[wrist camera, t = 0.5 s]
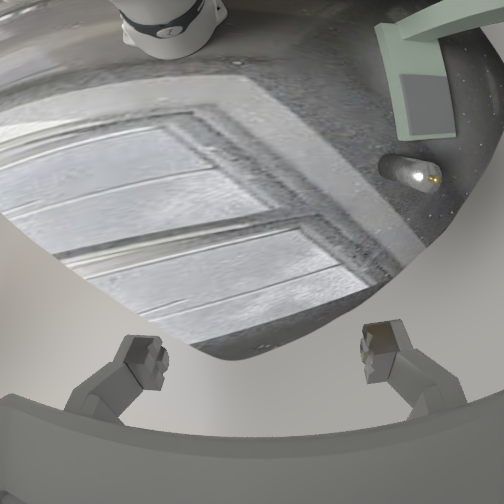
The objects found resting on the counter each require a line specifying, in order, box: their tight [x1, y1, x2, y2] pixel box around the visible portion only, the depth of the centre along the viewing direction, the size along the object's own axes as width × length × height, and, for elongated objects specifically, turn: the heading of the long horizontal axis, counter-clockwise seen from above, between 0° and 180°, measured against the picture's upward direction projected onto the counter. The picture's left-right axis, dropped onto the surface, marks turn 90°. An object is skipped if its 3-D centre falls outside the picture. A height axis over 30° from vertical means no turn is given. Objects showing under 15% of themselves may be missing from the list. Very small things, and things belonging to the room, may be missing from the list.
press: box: [374, 0, 504, 141], centre depth 31 cm, size 38×14×39 cm, turn 12°
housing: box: [378, 154, 442, 194], centre depth 46 cm, size 5×5×16 cm
